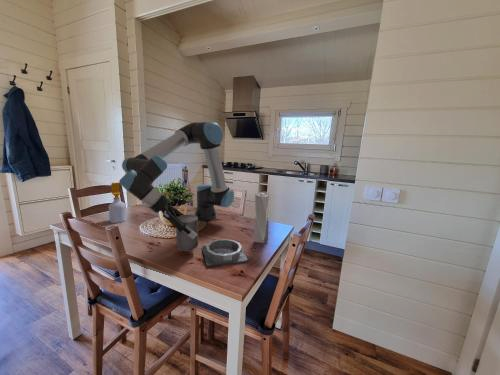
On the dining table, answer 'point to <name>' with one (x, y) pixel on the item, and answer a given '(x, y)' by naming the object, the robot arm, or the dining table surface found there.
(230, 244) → the duct collar
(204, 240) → the dining table surface
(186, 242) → the pillar candle
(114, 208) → the soap bottle
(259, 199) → the skyscraper
